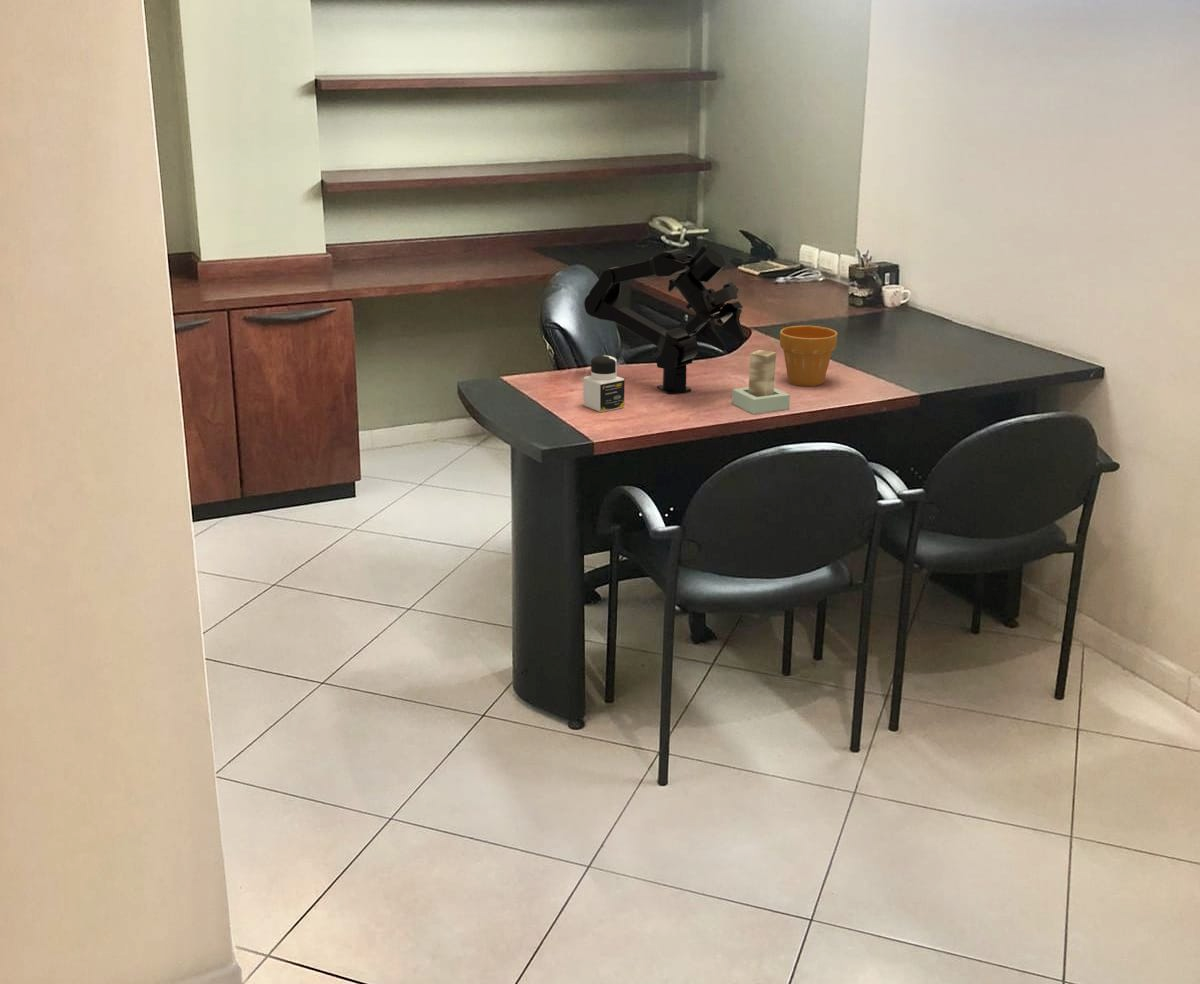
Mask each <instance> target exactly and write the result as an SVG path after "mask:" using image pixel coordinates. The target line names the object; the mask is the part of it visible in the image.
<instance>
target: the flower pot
mask: <svg viewBox="0 0 1200 984" xmlns="http://www.w3.org/2000/svg"><path fill="white" fill-rule="evenodd" d="M837 343H838V332H837V331H836V330H834V329H832V328H830V327H829V328H828V327H823V326H819V325H817V326H816V325H792V326H786V327H783V328H782V329H781V330H780V331H779V347H780V348H781V349H782V350H783V355H784V363H785V368H786V374H787V379H788V382H789V383H790V384H792V385H795V386H800V387H816V386H817V387H818V386H820V385H822V384H824V381H825V379H826V376H827V375H826V374H827V371H828V369H829V364H830V360H831V357H832V353H833V351H835V350H836V348H837Z"/></svg>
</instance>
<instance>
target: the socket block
mask: <svg viewBox="0 0 1200 984" xmlns="http://www.w3.org/2000/svg"><path fill="white" fill-rule="evenodd" d="M731 392H732V395H731V397H732V398H731V404H733V405H735V406H737V407H738V408H740V409H742V410H744V411H746V412H748V413H750V414H752V415H759V414H765V413H771V412H772V413H773V412H778V411H787V410H790V401H791V394H789V393H786V392H785V391H782V390H780V389H778V388H776V387H774V395H768V396H761V397H755V396H753V395H751V394H749V386H747V387H739V388H733V389H732V391H731Z"/></svg>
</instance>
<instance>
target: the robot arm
mask: <svg viewBox="0 0 1200 984" xmlns="http://www.w3.org/2000/svg"><path fill="white" fill-rule="evenodd" d="M725 265H726V261H725V258H724V257H723V255H722V254H721V253H719V252H718V251H717V250H715V249H714V248H711V247H710V246H709V245H703V246H702V247H701V248H700V249H699V250H698V252H697V253H696V254H695V255H690V254H687V253H686V252H685V250H683V249H682V248H676V249H671V250H667V251H662V252H661V253H658V254H656V255H654V256H652V257H651V258H649V259H647V260H644V261H639V262H636V263H632V264H626V265H623V266H613V267H610V268H606V269H604V270H603V272H602V273H601V276H600V278H599V279H598V280H597V282H596V283H595V284H594V285H593V287H591V289H590V291H589V293H588V295H587V296H586V297H585V299H584V303H583V305H584V309H585V313H586V314H587V315H588V316H590V317H593V318H595V319H598V320H602V321H608V322H609V321H611V322H612V323H613V322H614V323H615V324H616V325H618V326H621V327H622V328H624V329H626V330H628V331H629V332H631V333H633V334H634V335H636V336H638V337H639V338H641V339H643V340H645V341H646V342H648V343H651V344H653V346H655V347H656V348H657V349H658V351H659V353H660V355H659V356H658V357H656V358H655V363H656V367H657V368H658V369H662V385H661V384H660V385H657V389H659V390H661V391H662V392H665V393H666V394H669V395H670V394H677V393H678V394H679V393H684V392H685V393H686V392H692V388H690V387H688V386H687V366H688V365H689V364H690V365H691V364H693V361H694V358H696V356H697V355H698V352H699V345H698V340H697V339H699V340H701V341H703V342H705V343H707V344H709V345H711V346H713V347H715V348H717V349H719V350H721V351H722V352H725V350H726V349H727V346H726V344H725V342H724V340H723V339H722V337H721V336H720V335H719V333H718V330H717V329H716V325H715V324H716V323H718V324H720V327H721V328H722V329H723V330H724V331H725V332H726V333H728V334H729V335H731V336H732V337H733V338H735V340H737V342H740V343H741V344H744V343H745V342H746V341H747V339H746V337H745V333H744V331H743V328H742V325H741V322H740V319H741V318H740V317H741V314H742V312H743V311H742V310H743V308H744V306H743V305H742V304H741V302H740V301H739V300H736V299H739V296H738V292H739V291H740V290H739V287H737V286H736V284H734V283H733V282H728V283H726V284H723V286H722V288H721V289H719V290H715V289H713V288H707V287H706V285H705V284H704V282H705V283H709V282H710V281H711V280H712V279H714V277H715V276H716V275H717V274H718V273H720V271H721V270H722V269H723V268H724V267H725ZM687 269H688V270H687ZM673 275H677V277H676V278H671V279H669V281H668V282H669V283H668V289H667V291H668V292H673V291H676V290H677V291H678V292H679V293H680V295H681V296H682V297H683V300H685V301H686V303H687V305H686V306H685V307H686V309H687V310H692V311H693V312H694V315H693V316H692V317H690V318H689V320H688V321H687V322H686V323H684V329H683V328H681V327H680V326H679V327H676V328H673V329H669V330H667V329H666V328H664V327H662V326H661V325H659V324H657V323H655V322H653V321H651V320H650V319H648V318H646V317H644V316H643V315H642V314H641V315H640V314H639V313H637V312H635V311H634V310H632V309H630V308H629V307H627V306H625V305H624V303H623V301H622V299H621V298H620V297H619V296H620V295H621V292H622V283H623V282H624V281H628V280H629V281H630V280H635V279H637V278H638V279H639V278H642V277H647V276H655V277H671V276H673ZM715 322H716V323H715Z"/></svg>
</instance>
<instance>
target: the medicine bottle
mask: <svg viewBox="0 0 1200 984" xmlns="http://www.w3.org/2000/svg"><path fill="white" fill-rule="evenodd" d="M590 367H591V368H590V375H587V376H583V381H582V382H583V384H582V385H583V393H582V395H583V399H582V400H583V402H582V403H583V406H584V407H587V408H588V409H591V410H594V411H596V412H599V413H603V412H610V411H615V410H619V409H622V408H625V378H623V377H621V376H619V375H618V374H617V373H618V372H617V371H618V360H617V358H616V357H614V356H610V355H597V356H595V357H592V359H591V360H590ZM617 375H618V376H617Z"/></svg>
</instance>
